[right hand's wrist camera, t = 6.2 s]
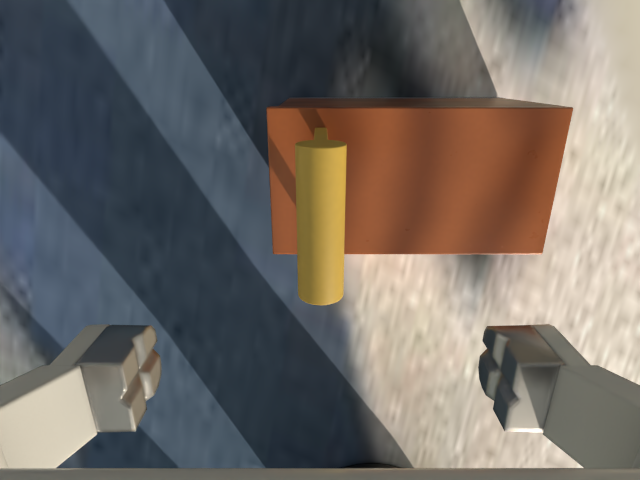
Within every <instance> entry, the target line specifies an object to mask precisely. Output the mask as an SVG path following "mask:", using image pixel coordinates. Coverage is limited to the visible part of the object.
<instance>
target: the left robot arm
mask: <svg viewBox="0 0 640 480" xmlns="http://www.w3.org/2000/svg"><path fill="white" fill-rule="evenodd" d="M346 468H397V467H394V466H390V465H384V464H360V465H354V466H350V467H346Z"/></svg>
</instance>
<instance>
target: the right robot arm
mask: <svg viewBox="0 0 640 480" xmlns="http://www.w3.org/2000/svg"><path fill="white" fill-rule="evenodd" d="M156 342H157V336H156V332H155V329H154V328H153V327H152V326H149V325H89V326H86V327H85V328H84V329H83V330H82V331H81V332H80V333H79V334H78V335H77V336H76V337H75V339H74V340H73V341H72V342H71V343H70V344H69V345H68V346H67V347H66V348H65V349H64V350H63V351H62V352H61V353H60V354H59V356H58V357H57V358H56V359H55V360H54V361H53V362H52V363H51V364H50V365H45V366H40V367H38V368H36V369H34V370H32V371H30V372H28V373H25V374H23V375H21V376H19V377H17V378H15V379H13V380H11V381H9V382H6V383H4V384H2V385H0V480H640V385H638V384H636V383H634V382H631V381H629V380H627V379H625V378H623V377H621V376H619V375H617V374H615V373H612V372H610V371H608V370H606V369H604V368H602V367H600V366H595V365H590V364H589V363H588V362H587V361H586V360H585V359H584V358H583V357H582V356H581V354H580V353H579V352H578V351H577V350H576V349H575V348H574V347H573V346H572V345H571V344H570V343H569V342H568V341H567V340H566V338H565V337H564V336H563V335H562V334H561V333H560V332H559V331H558V330H557V329H556V328H555V327H554V326H552V325H549V324H544V325H519V326H487V327H486V329H485V331H484V336H483V342H484V344H485V346H486V347H487V349H486V350H485V351H484V352H483V353H482V354H481V355H480V360H479V367H478V368H479V379H480V382H481V386H482V388H483V390H484V392H485V394H486V396H488V397H489V398H491V399H492V400H494V407H493V410H494V412H495V414H496V416H497V418H498V419H499V421H500V423H501V425H502V427H503V429H504V431H511V432H543V435H544V436H546V437H547V438H548V439H549V440H551V441H552V442H553V443H554V444H556V445H557V446H558V447H559V448H560V449H562V450H563V451H564V452H565V453H567V454H568V455H569V456H570V457H571V458H573V459H574V460H575V461H576V462H578V463H579V464H580V465H581V466H583V467H584V468H56V467H58V466H59V465H60V464H61V463H63V462H64V461H65V460H66V459H67V458H69V457H70V456H71V455H72V454H74V453H75V452H76V451H77V450H78V449H80V448H81V447H82V446H83V445H85V444H86V443H87V442H88V441H90V440H91V439H92V438H93V437H94V436H96V435H97V432H128V431H136V429H137V427H138V425H139V423H140V421H141V419H142V418H143V416H144V414H145V412H146V410H147V407H146V400H148V399H149V398H151V397H152V396H154V394H155V392H156V390H157V388H158V386H159V382H160V378H161V359H160V355H159V354H158V353H157V352H156V351H155V350H154V349H153V347H154V346H155V344H156Z"/></svg>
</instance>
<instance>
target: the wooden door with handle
mask: <svg viewBox="0 0 640 480" xmlns="http://www.w3.org/2000/svg"><path fill="white" fill-rule="evenodd" d="M266 111H267V133H268V155H269V177H270V198H271V220H272V242H273V254H297V258H298V295H299V297H300V299H301V300H303V301H304V302H306V303H309V304H314V305H328V304H332V303H335V302H337V301H339V300H340V299H341V298H342V296H343V283H344V254H542V252H543V248H544V243H545V238H546V234H547V229H548V224H549V219H550V215H551V210H552V205H553V201H554V196H555V191H556V187H557V182H558V177H559V172H560V168H561V163H562V158H563V154H564V149H565V144H566V139H567V135H568V130H569V125H570V121H571V116H572V111H573V108H572V107H565V106H269V107H267V109H266Z"/></svg>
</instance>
